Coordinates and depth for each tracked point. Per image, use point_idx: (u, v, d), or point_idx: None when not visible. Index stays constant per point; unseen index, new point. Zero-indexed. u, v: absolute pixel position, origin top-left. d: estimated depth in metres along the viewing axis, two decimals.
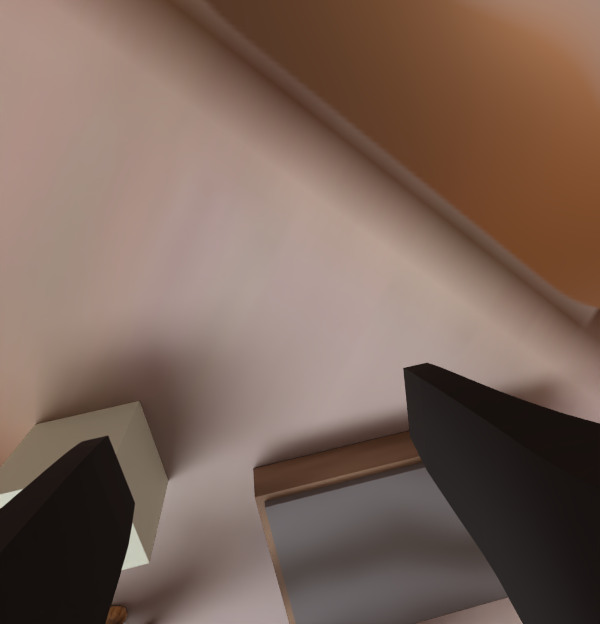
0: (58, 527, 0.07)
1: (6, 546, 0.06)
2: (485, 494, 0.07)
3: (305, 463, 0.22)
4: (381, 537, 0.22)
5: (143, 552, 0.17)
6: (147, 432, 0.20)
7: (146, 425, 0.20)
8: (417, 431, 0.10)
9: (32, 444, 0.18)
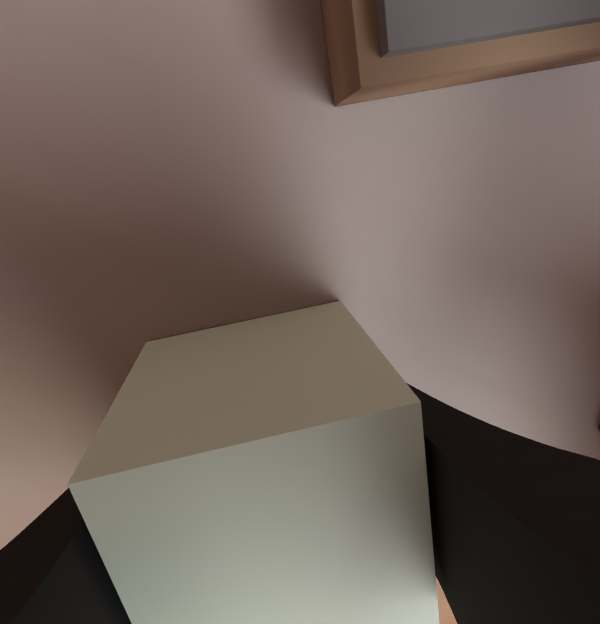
0: None
1: (79, 528, 0.06)
2: None
3: None
4: None
5: (379, 414, 0.06)
6: (207, 335, 0.10)
7: (196, 335, 0.10)
8: None
9: None
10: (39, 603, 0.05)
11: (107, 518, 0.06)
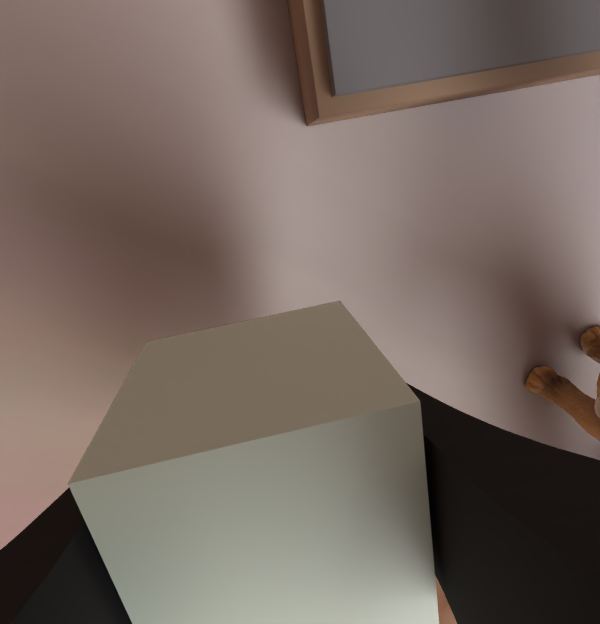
0: None
1: (79, 528, 0.06)
2: (429, 508, 0.07)
3: (292, 9, 0.11)
4: None
5: (379, 413, 0.06)
6: (207, 335, 0.10)
7: (196, 335, 0.10)
8: None
9: None
10: (39, 603, 0.05)
11: (107, 518, 0.06)
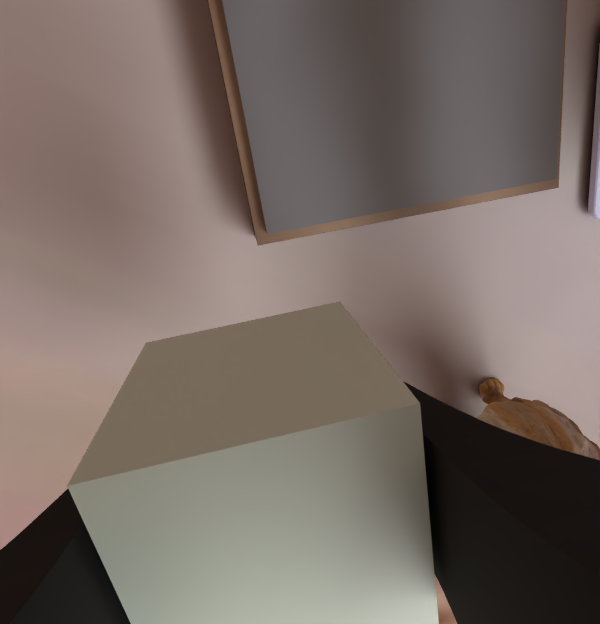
0: None
1: (79, 528, 0.06)
2: (429, 508, 0.07)
3: (241, 165, 0.16)
4: (352, 40, 0.13)
5: (378, 415, 0.06)
6: (207, 336, 0.10)
7: (196, 336, 0.10)
8: None
9: None
10: (39, 603, 0.05)
11: (106, 520, 0.06)
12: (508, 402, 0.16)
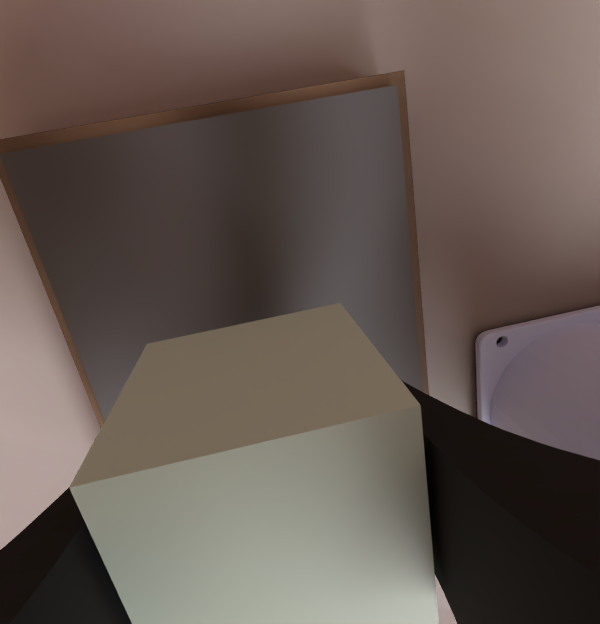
0: None
1: (79, 528, 0.06)
2: (429, 508, 0.07)
3: None
4: None
5: (379, 417, 0.06)
6: (208, 337, 0.10)
7: (197, 337, 0.10)
8: None
9: None
10: (39, 603, 0.05)
11: (108, 522, 0.06)
12: None
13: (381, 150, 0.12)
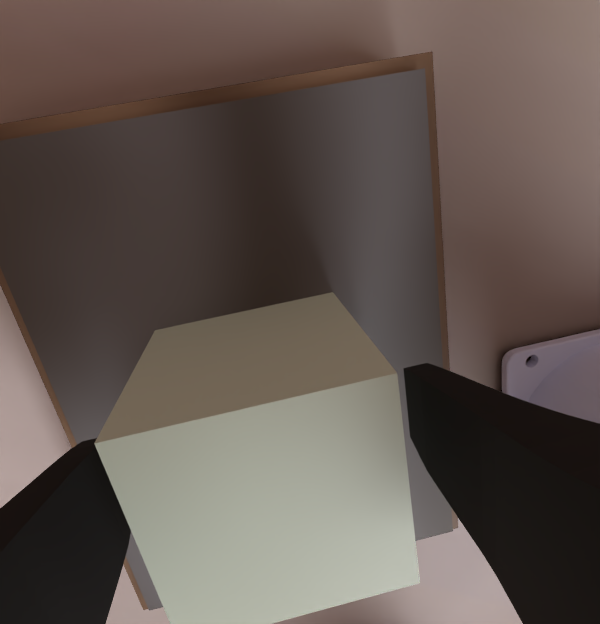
0: (58, 527, 0.07)
1: (6, 546, 0.06)
2: (485, 494, 0.07)
3: None
4: None
5: (361, 384, 0.07)
6: (211, 324, 0.11)
7: (201, 324, 0.11)
8: (417, 431, 0.10)
9: None
10: None
11: (127, 474, 0.07)
12: None
13: (405, 146, 0.11)
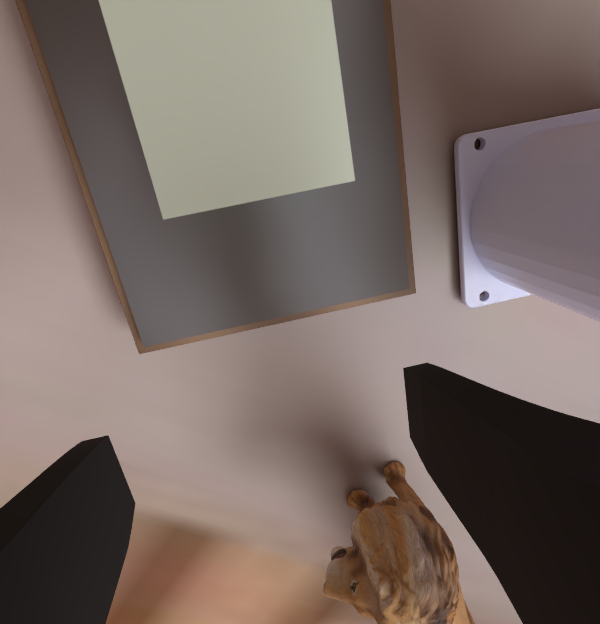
0: (58, 527, 0.07)
1: (6, 546, 0.06)
2: (485, 494, 0.07)
3: None
4: None
5: None
6: None
7: None
8: (417, 431, 0.10)
9: None
10: None
11: (118, 19, 0.09)
12: (377, 510, 0.18)
13: None
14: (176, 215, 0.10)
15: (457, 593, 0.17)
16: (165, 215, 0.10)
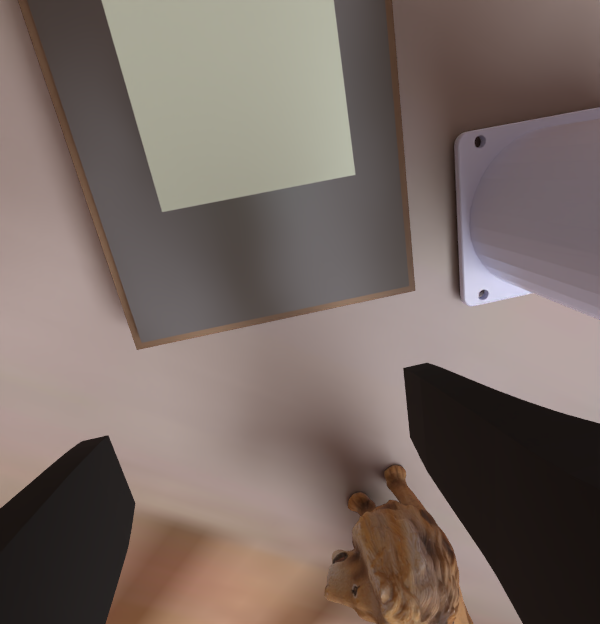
0: (58, 527, 0.07)
1: (6, 546, 0.06)
2: (485, 494, 0.07)
3: None
4: None
5: None
6: None
7: None
8: (417, 431, 0.10)
9: None
10: None
11: (118, 8, 0.09)
12: (378, 514, 0.18)
13: None
14: (175, 208, 0.10)
15: (457, 597, 0.17)
16: (164, 207, 0.10)
